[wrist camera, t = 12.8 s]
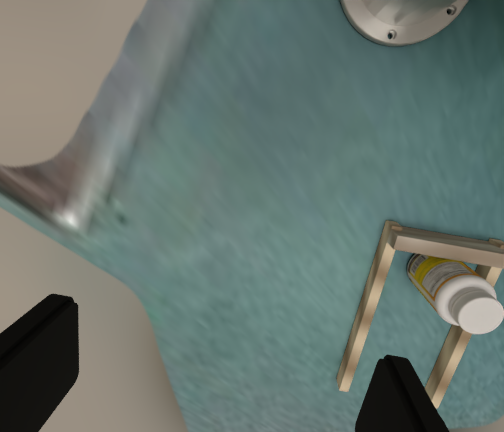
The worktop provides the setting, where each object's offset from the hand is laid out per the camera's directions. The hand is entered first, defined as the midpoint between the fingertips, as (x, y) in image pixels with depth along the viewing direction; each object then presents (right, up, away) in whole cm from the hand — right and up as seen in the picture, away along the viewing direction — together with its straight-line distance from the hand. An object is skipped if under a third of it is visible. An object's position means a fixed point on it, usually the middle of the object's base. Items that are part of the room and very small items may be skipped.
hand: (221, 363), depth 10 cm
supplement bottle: (+23, -2, +29) cm, 37 cm away
